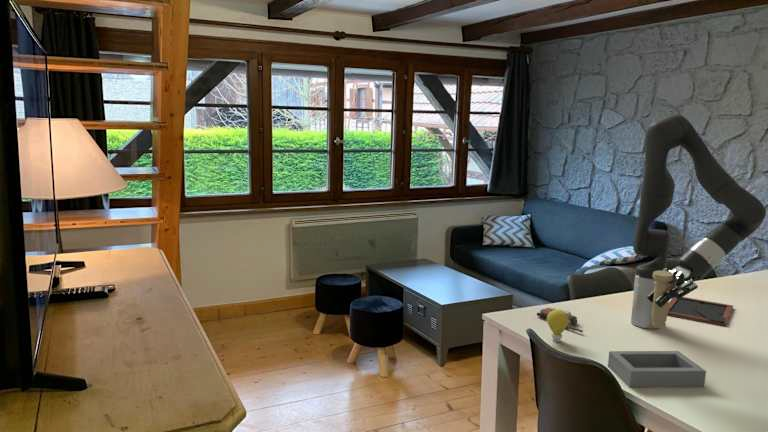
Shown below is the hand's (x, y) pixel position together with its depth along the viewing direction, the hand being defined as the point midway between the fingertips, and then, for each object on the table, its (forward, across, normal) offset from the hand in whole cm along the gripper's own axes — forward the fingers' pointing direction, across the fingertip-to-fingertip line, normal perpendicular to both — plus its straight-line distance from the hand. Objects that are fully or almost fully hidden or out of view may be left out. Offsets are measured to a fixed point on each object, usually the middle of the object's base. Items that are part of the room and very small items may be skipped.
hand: (653, 302), depth 152 cm
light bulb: (+26, -25, +2) cm, 36 cm away
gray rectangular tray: (+14, +1, +15) cm, 21 cm away
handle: (+4, 0, +6) cm, 7 cm away
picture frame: (-18, -52, +47) cm, 73 cm away
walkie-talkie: (+21, -40, +8) cm, 45 cm away
